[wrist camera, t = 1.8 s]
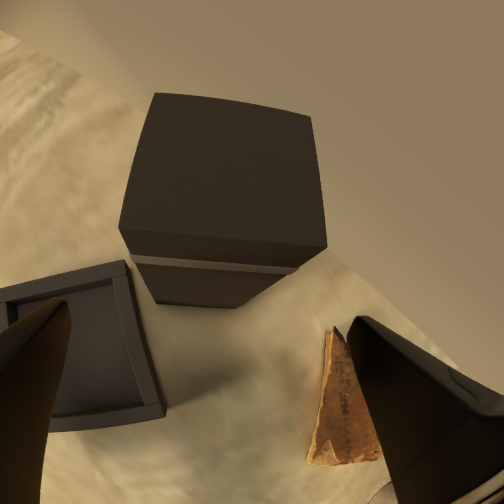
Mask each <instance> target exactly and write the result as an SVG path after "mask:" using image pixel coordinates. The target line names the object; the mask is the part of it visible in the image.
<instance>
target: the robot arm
mask: <svg viewBox="0 0 504 504" xmlns="http://www.w3.org/2000/svg"><path fill="white" fill-rule="evenodd" d="M71 329H72V320H71V316H70V312H69V307H68V303H67V301H66V300H65V299H62V298H52V299H50V300H49V301H47V302H46V303H44V304H43V305H41V306H39V307H38V308H36V309H35V310H33V311H32V312H30V313H29V314H27V315H26V316H24V317H23V318H21V319H20V320H18V321H17V322H15V323H14V324H12V325H11V326H9V327H8V328H6V329H5V330H3V331H2V332H1V333H0V504H40V489H41V478H42V469H43V462H44V455H45V448H46V442H47V437H48V431H49V426H50V421H51V417H52V412H53V408H54V404H55V399H56V395H57V392H58V388H59V384H60V380H61V377H62V373H63V368H64V363H65V358H66V352H67V347H68V343H69V338H70V333H71ZM347 344H348V348H349V351H350V355H351V359H352V362H353V366H354V370H355V374H356V377H357V380H358V383H359V386H360V389H361V391H362V394H363V397H364V400H365V402H366V405H367V408H368V411H369V414H370V416H371V419H372V422H373V425H374V428H375V431H376V434H377V437H378V440H379V443H380V446H381V449H382V452H383V455H384V458H385V461H386V464H387V468H388V471H389V474H390V477H391V481H392V484H393V488H394V491H395V495H396V498H397V502H398V504H504V395H501V394H499V393H497V392H495V391H493V390H491V389H489V388H487V387H485V386H483V385H481V384H480V383H478V382H476V381H474V380H472V379H470V378H469V377H467V376H465V375H463V374H462V373H460V372H458V371H457V370H455V369H453V368H452V367H450V366H449V365H447V364H445V363H444V362H442V361H440V360H439V359H437V358H436V357H434V356H432V355H431V354H429V353H428V352H426V351H424V350H423V349H421V348H419V347H418V346H416V345H415V344H413V343H411V342H410V341H408V340H406V339H405V338H403V337H402V336H400V335H398V334H397V333H395V332H393V331H392V330H390V329H389V328H387V327H385V326H384V325H382V324H380V323H379V322H377V321H375V320H374V319H372V318H371V317H369V316H357V317H356V318H355V319H354V321H353V323H352V325H351V327H350V329H349V331H348V333H347Z"/></svg>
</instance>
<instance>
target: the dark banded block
mask: <svg viewBox="0 0 504 504" xmlns="http://www.w3.org/2000/svg"><path fill="white" fill-rule="evenodd" d="M118 228H119V231H120V233H121V235H122V237H123V239H124V241H125V244H126V246H127V248H128V250H129V256H130V258H131V260H132V262H134V263H135V264H136V266H137V268H138V270H139V272H140V274H141V276H142V278H143V280H144V282H145V284H146V286H147V288H148V289H149V291H150V293H151V295H152V297H153V299H154V301H155V302H156V304H167V305H180V306H194V307H209V308H228V309H236V308H238V307H239V306H241V305H242V304H244V303H245V302H247V301H248V300H250V299H251V298H253V297H255V296H256V295H258V294H259V293H261V292H262V291H264V290H265V289H267V288H268V287H270V286H271V285H273V284H274V283H276V282H277V281H279V280H280V279H282V278H283V277H285V276H286V275H290V274H292V273H294V272H295V271H297V270H298V269H299V267H300V266H301V265H303V264H304V263H306V262H307V261H309V260H310V259H311V258H313V257H314V256H316V255H317V254H319V253H320V252H322V251H323V250H325V249H326V248H327V237H326V226H325V216H324V207H323V200H322V190H321V183H320V175H319V167H318V161H317V154H316V147H315V141H314V135H313V129H312V123H311V117H309V116H306V115H302V114H298V113H293V112H289V111H285V110H280V109H276V108H271V107H265V106H261V105H256V104H250V103H244V102H238V101H231V100H225V99H218V98H211V97H203V96H193V95H183V94H170V93H155V94H154V96H153V99H152V102H151V105H150V108H149V111H148V113H147V116H146V119H145V123H144V126H143V129H142V132H141V135H140V139H139V142H138V145H137V149H136V152H135V156H134V160H133V163H132V167H131V171H130V175H129V179H128V183H127V187H126V192H125V196H124V201H123V205H122V210H121V215H120V220H119V225H118Z"/></svg>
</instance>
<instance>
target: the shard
mask: <svg viewBox="0 0 504 504" xmlns="http://www.w3.org/2000/svg"><path fill="white" fill-rule="evenodd" d="M381 454H382V449H381V446H380V443H379V440H378V437H377V434H376V431H375V428H374V425H373V422H372V419H371V416H370V414H369V411H368V408H367V405H366V402H365V400H364V397H363V394H362V391H361V389H360V386H359V383H358V380H357V377H356V374H355V370H354V366H353V362H352V359H351V355H350V351H349V348H348V344H347V343H346V342H345V340H344V338H343V335H342V334H341V333H340V332H339V331H338V329H337V328H336V326H333V329H332V331H331V333H328V334H327V335H326V349H325V369H324V378H323V385H322V393H321V405H320V409H319V412H318V416H317V423H316V427H315V430H314V432H313V437H312V443H311V447H310V449H309V453H308V456H307V459H306V460H307V463H308V464H309V465H329V466H336V465H344V464H349V463H359V462H365V461H368V462H371V461H376V460H378V459H379V458H380V457H381Z"/></svg>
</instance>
